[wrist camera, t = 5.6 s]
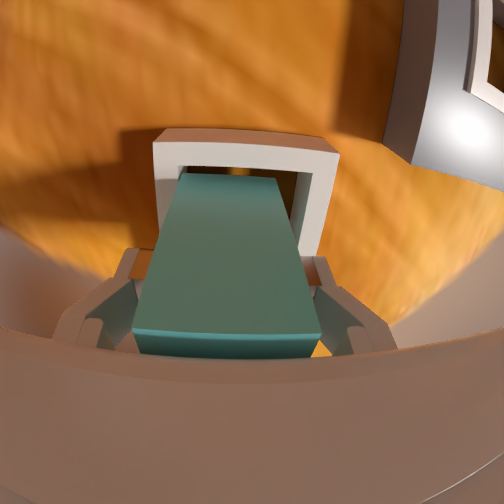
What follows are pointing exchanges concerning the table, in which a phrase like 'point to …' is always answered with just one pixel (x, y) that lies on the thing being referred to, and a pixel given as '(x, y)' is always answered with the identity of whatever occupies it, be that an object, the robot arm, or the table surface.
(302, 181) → the white square frame
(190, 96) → the table surface
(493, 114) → the socket block
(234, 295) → the plug
